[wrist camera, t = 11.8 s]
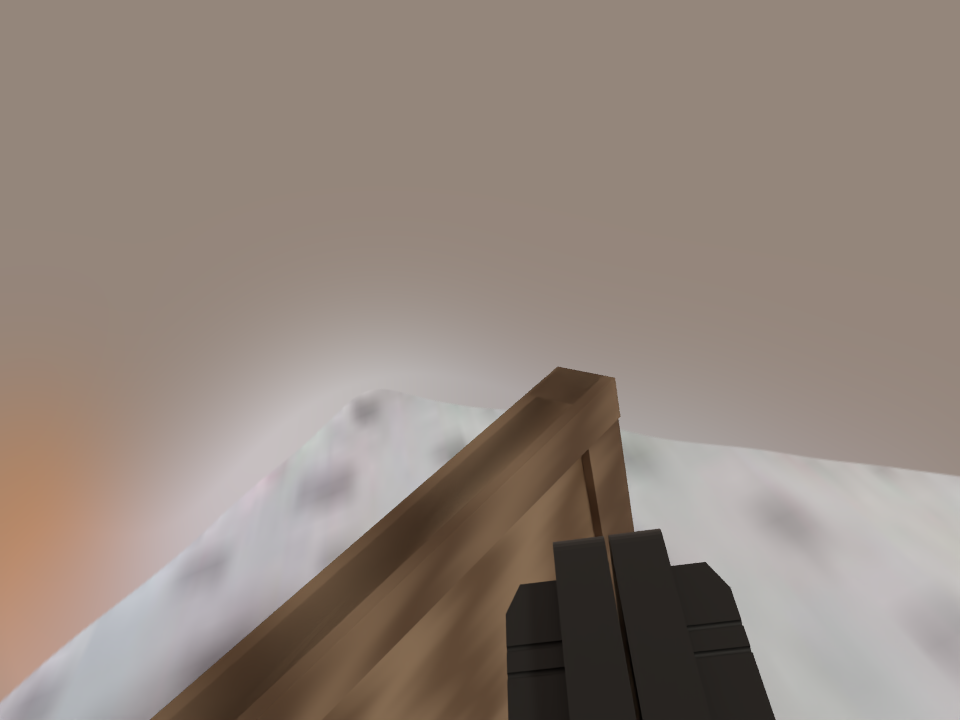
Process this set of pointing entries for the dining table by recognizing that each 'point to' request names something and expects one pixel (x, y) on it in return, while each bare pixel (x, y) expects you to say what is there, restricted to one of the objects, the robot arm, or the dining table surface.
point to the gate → (436, 577)
